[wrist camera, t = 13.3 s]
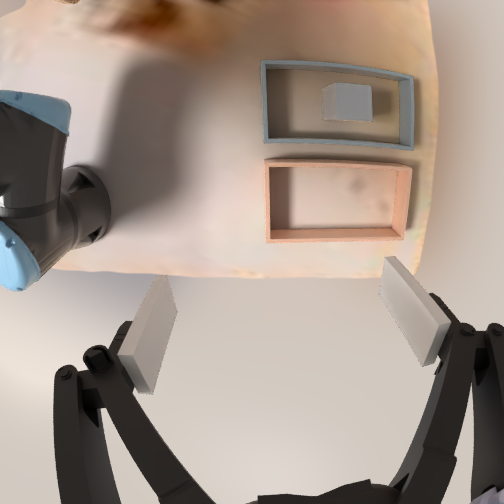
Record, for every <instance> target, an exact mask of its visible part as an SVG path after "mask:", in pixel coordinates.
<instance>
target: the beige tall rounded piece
mask: <svg viewBox="0 0 504 504" xmlns="http://www.w3.org/2000/svg"><path fill="white" fill-rule="evenodd" d="M56 1H58V2H61V3H65V4H76V3H77V2H78V1H79V0H56Z"/></svg>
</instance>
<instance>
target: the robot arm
mask: <svg viewBox="0 0 504 504" xmlns="http://www.w3.org/2000/svg"><path fill="white" fill-rule="evenodd" d="M70 118H71V106H70V104H69V103H68V102H67V101H65V100H63V99H59V98H55V97H50V96H45V95H39V94H33V93H26V92H17V91H10V90H0V285H2V286H3V287H5V288H7V289H9V290H12V291H23V290H25V289H26V288H28V287H29V286H30V285H31V284H33V283H34V282H36V281H38V280H39V279H40V278H41V277H42V276H43V275H44V274H45V273H46V272H47V271H48V270H49V269H50V268H51V267H52V266H53V265H54V264H55V263H56V262H57V261H59V260H60V259H61V258H62V257H63V256H64V255H65V254H66V253H67V252H69V251H70V250H73V249H77V248H81V247H86V246H88V245H91V244H92V243H94V242H95V241H96V240H98V239H99V238H100V237H101V236H102V235H103V234H104V232H105V231H106V229H107V227H108V224H109V221H110V214H111V207H110V200H109V196H108V193H107V190H106V188H105V186H104V184H103V183H102V181H101V180H100V179H99V178H98V177H97V176H96V175H95V174H94V173H93V172H92V171H90V170H88V169H86V168H84V167H79V166H73V167H69V168H66V169H63V163H64V155H65V149H66V142H67V136H69V131H68V130H69V124H70ZM379 296H380V297H381V299H382V300H383V302H384V303H385V305H386V307H387V308H388V310H389V311H390V313H391V315H392V316H393V318H394V319H395V321H396V323H397V324H398V326H399V328H400V329H401V331H402V333H403V334H404V336H405V338H406V339H407V341H408V343H409V345H410V346H411V348H412V350H413V352H414V353H415V355H416V357H417V359H418V360H419V362H420V364H421V366H422V367H423V366H427V365H430V364H433V363H434V362H435V360H436V358H437V355H438V356H439V358H440V359H441V361H440V363H439V365H438V367H437V369H436V371H435V375H436V376H435V380H434V383H433V386H432V390H431V393H430V396H429V399H428V402H427V405H426V408H425V410H424V413H423V416H422V419H421V421H420V424H419V426H418V429H417V431H416V434H415V436H414V438H413V441H412V443H411V445H410V448H409V450H408V452H407V454H406V457H405V459H404V461H403V463H402V465H401V467H400V469H399V471H398V472H397V474H396V476H395V477H394V478H393V480H392V481H391V483H390V484H389V486H387V485H381V484H371V481H370V479H368V480H364V481H360V482H355V483H351V484H346V485H343V486H341V487H338V488H336V489H334V490H332V491H329V492H326V493H324V494H321V495H319V496H301V495H292V494H278V495H263V496H258V500H257V501H253V502H250V503H247V504H441V501H442V499H443V497H444V494H445V492H446V490H447V487H448V485H449V482H450V479H451V477H452V474H453V471H454V468H455V465H456V462H457V458H456V457H455V456H454V453H455V449H456V446H457V443H458V439H459V436H460V432H461V429H462V424H463V420H464V416H465V412H466V408H467V403H468V398H469V392H470V387H471V382H472V394H473V410H474V453H473V454H474V455H473V470H472V480H471V503H470V504H504V327H503V326H502V325H500V324H497V323H491V324H489V326H488V328H487V330H486V331H476V330H475V328H474V327H473V326H471V325H470V324H467V323H460V322H459V320H458V319H457V318H456V317H455V315H454V314H453V313H452V312H451V310H450V309H448V307H447V306H446V304H444V302H443V301H442V300H441V298H440V297H438V296H436V295H435V294H433V293H429V294H428V293H427V292H426V290H425V289H424V288H423V287H422V286H421V285H420V283H419V282H418V281H417V280H416V279H415V278H414V276H413V275H412V274H411V273H410V272H409V271H408V270H407V269H406V267H405V266H404V265H403V264H402V263H401V262H400V261H399V260H398V259H397V258H396V257H395V256H390V257H384V265H383V271H382V278H381V285H380V290H379ZM176 315H177V309H176V306H175V302H174V298H173V294H172V291H171V287H170V283H169V279H168V275H165V276H156V277H155V278H154V280H153V282H152V284H151V286H150V288H149V290H148V292H147V294H146V296H145V298H144V300H143V302H142V304H141V306H140V308H139V310H138V312H137V314H136V316H135V318H134V320H133V321H125V322H124V323H123V324H122V325H121V326H120V327H119V329H118V331H117V333H116V335H115V337H114V339H113V341H112V343H111V345H110V347H109V349H107V348H106V346H103V345H96V346H93V347H91V348H89V349H88V350H87V351H86V352H85V353H84V355H83V361H84V363H85V365H86V366H87V368H88V369H89V370H84V371H77V369H76V368H75V367H74V366H73V365H65V366H63V367H61V368H60V369H58V371H57V372H56V374H55V379H54V405H53V410H54V411H53V419H54V420H53V423H54V448H55V461H56V471H57V479H58V487H59V493H60V499H61V504H121V501H120V498H119V494H118V491H117V488H116V484H115V480H114V476H113V472H112V468H111V464H110V460H109V455H108V450H107V445H106V440H105V434H104V429H103V423H102V417H101V410H100V408H106V409H107V411H108V413H109V415H110V417H111V419H112V421H113V423H114V425H115V427H116V429H117V431H118V433H119V435H120V437H121V439H122V440H123V442H124V444H125V446H126V448H127V449H128V451H129V453H130V454H131V456H132V458H133V460H134V461H135V463H136V464H137V466H138V468H139V469H140V471H141V472H142V474H143V475H144V477H145V479H146V480H147V482H148V483H149V484H150V486H151V487H152V489H153V490H154V492H155V493H156V494H157V496H158V499H159V502H160V504H216V503H215V502H214V501H213V500H212V499H211V498H210V497H209V496H208V495H207V493H206V492H205V491H204V490H203V489H202V488H201V487H200V486H199V484H198V483H197V482H196V481H195V480H194V479H193V478H192V476H191V475H190V474H189V473H188V471H187V470H186V469H185V468H184V467H183V465H182V464H181V463H180V462H179V460H178V459H177V458H176V456H175V455H174V454H173V452H172V451H171V450H170V449H169V447H168V446H167V444H166V443H165V442H164V441H163V439H162V437H161V436H160V435H159V433H158V432H157V430H156V429H155V427H154V426H153V424H152V423H151V422H150V420H149V418H148V417H147V416H146V414H145V412H144V411H143V409H142V408H141V406H140V404H139V403H138V401H137V400H136V398H135V397H134V395H133V389H134V387H135V388H136V390H137V391H138V393H140V394H152V395H153V392H154V389H155V385H156V382H157V378H158V375H159V371H160V367H161V364H162V360H163V357H164V354H165V350H166V347H167V344H168V340H169V337H170V334H171V331H172V328H173V325H174V321H175V318H176Z"/></svg>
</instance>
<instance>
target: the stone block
mask: <svg viewBox="0 0 504 504" xmlns="http://www.w3.org/2000/svg"><path fill="white" fill-rule="evenodd" d="M321 92H322V113H323V120H341V121H367V122H373V116H372V90H371V86H370V85H361V84H351V83H340V82H334V83H332V84H330V85H328V86H326V87H324V88H322V89H321Z"/></svg>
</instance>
